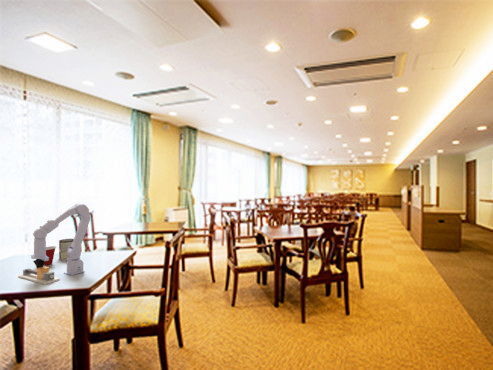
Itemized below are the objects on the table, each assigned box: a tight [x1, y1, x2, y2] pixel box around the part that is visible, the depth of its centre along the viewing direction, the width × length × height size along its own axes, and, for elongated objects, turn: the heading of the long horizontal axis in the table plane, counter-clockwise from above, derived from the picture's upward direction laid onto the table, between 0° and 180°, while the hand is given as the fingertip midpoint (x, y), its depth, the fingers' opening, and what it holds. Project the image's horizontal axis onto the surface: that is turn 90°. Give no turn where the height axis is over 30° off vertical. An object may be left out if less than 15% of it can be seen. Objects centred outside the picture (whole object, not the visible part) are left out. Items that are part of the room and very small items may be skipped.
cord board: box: [17, 268, 61, 285], centre depth 165 cm, size 28×8×5 cm, turn 64°
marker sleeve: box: [35, 266, 50, 279], centre depth 163 cm, size 5×4×6 cm
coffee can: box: [58, 238, 74, 261], centre depth 212 cm, size 10×10×14 cm
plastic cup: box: [43, 245, 57, 267], centre depth 195 cm, size 11×11×12 cm
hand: (39, 271), depth 164 cm, fingers closed
